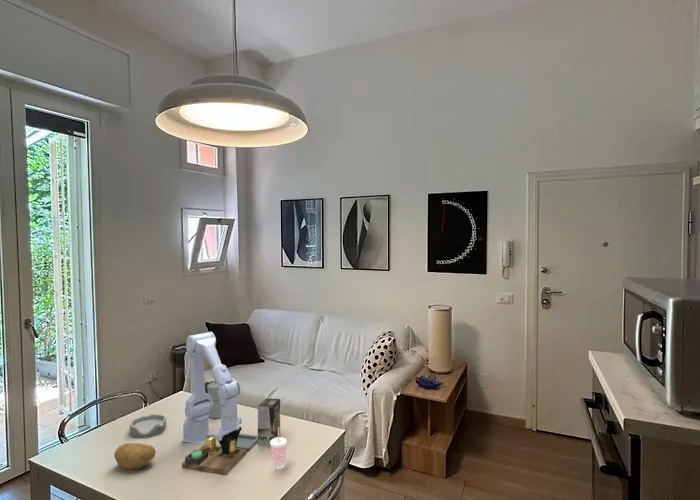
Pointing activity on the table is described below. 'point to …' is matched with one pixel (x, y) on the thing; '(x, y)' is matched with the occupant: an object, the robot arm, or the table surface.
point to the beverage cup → (278, 451)
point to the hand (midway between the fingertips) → (229, 450)
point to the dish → (148, 425)
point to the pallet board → (213, 461)
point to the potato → (134, 455)
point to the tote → (246, 441)
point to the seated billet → (210, 444)
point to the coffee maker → (214, 399)
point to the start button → (196, 454)
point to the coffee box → (268, 421)
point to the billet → (231, 449)
